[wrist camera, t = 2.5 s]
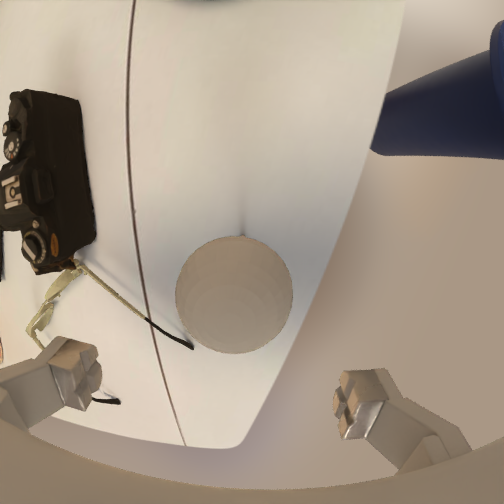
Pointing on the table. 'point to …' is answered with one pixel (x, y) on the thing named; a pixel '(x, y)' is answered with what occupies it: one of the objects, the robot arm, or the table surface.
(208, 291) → the lollipop
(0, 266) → the camera
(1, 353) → the shape sorter
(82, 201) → the film camera
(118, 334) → the table surface
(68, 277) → the eyeglasses
